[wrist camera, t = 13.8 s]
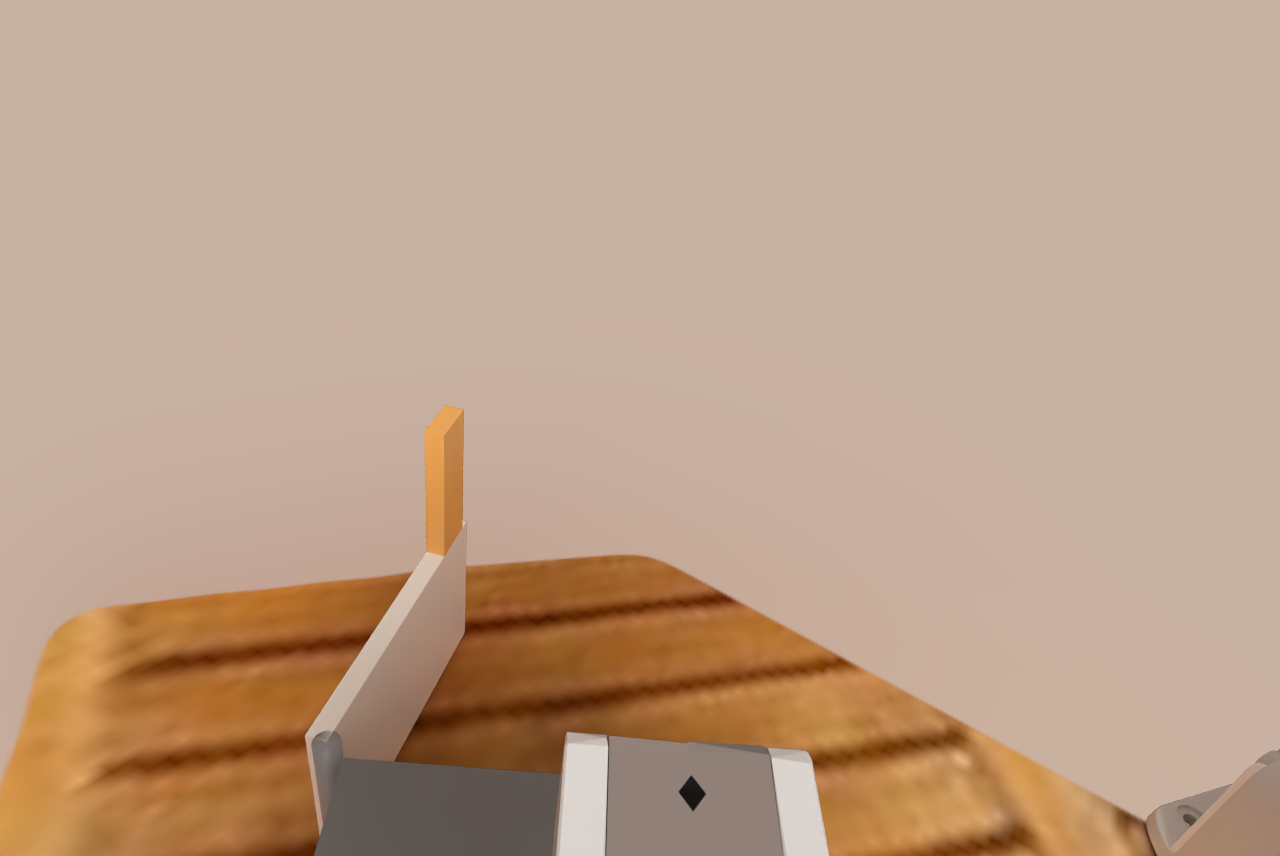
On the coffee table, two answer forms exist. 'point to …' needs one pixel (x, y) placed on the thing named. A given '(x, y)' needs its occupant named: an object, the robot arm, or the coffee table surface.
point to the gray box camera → (438, 811)
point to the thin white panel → (402, 632)
